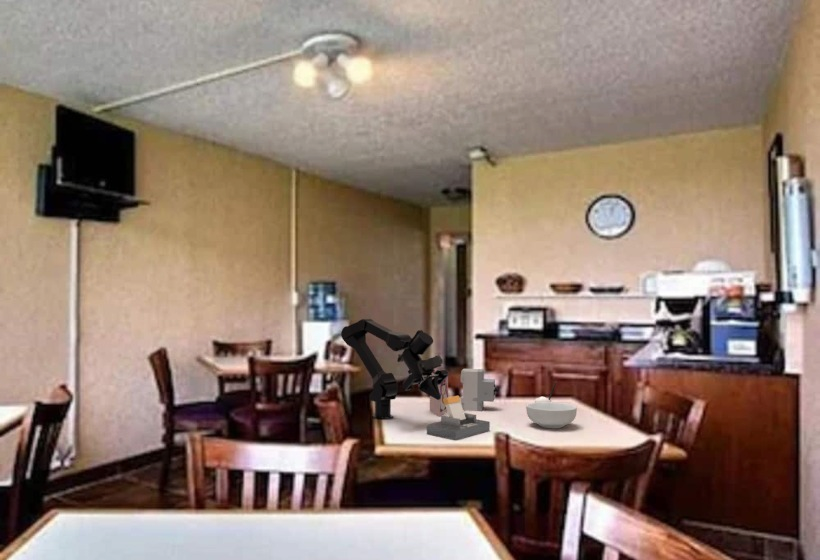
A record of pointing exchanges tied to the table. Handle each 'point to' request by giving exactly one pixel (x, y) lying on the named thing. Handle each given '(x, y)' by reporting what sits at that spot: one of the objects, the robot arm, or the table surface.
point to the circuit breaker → (476, 389)
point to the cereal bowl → (551, 414)
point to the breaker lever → (454, 408)
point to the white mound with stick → (544, 399)
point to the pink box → (438, 405)
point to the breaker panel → (458, 427)
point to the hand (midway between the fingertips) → (439, 399)
